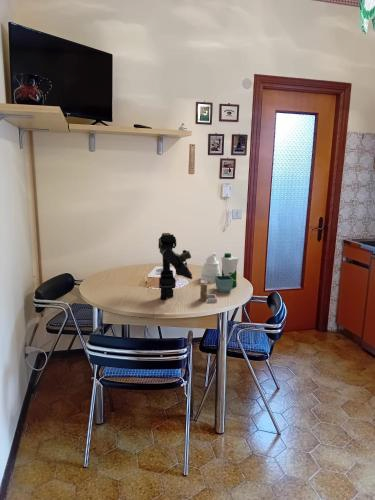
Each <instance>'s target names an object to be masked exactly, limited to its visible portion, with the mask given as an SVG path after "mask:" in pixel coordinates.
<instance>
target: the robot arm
mask: <svg viewBox="0 0 375 500" xmlns="http://www.w3.org/2000/svg"><path fill="white" fill-rule="evenodd" d="M157 244H158V247H157V248H158V249H159V253H160V254H161V257H162V270H161V271H160V277H159V278H158V288H159V289H160V299H159V300H161V301H163V300H164V301H167V299H171V298H174V289H175V288H176V282H177V280H176V278H175V277H174V273H173V270H171V266H173V268H174V270H175V274H176V275H177V276H181V277H184V278H186V279H190V280H192V279H193V273H192V272H191V270H190V269H189V267H188V263H187V260H189V259H191V258H192V255H191V253H190V251H189V250H187V249H183V250H182V253H181V254H178V253H176V252H175V251H174V250H173V249H175V248H176V247H177V238H176V236H174V234H173V233H172V234H171V233H169V232H162V233H161V236H160V237H159V238H158V243H157Z"/></svg>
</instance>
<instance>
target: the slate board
mask: <svg viewBox="0 0 375 500" xmlns="http://www.w3.org/2000/svg"><path fill="white" fill-rule="evenodd" d="M207 303H218V298H217V294H215V293H214V294H213V293H212V294H210V293H207Z"/></svg>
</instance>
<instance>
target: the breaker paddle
mask: <svg viewBox="0 0 375 500" xmlns="http://www.w3.org/2000/svg"><path fill="white" fill-rule="evenodd" d="M207 294H208V282H207V281H206V280H201V279H200V296H199V297H200V298H199V299H200V302H208V298H207Z"/></svg>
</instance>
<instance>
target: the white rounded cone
mask: <svg viewBox="0 0 375 500" xmlns="http://www.w3.org/2000/svg"><path fill="white" fill-rule="evenodd" d="M215 256H217V252H212V254H210V255H208V256H207V257H206V260H205V261H204V262H203V266H202V269H201V270H200V273H201V274H200V281H201V280H206V281H207V283H216V282H215V276H222V271H221V269H220V266H219V264H220V262H219V261H218V260H217V259H216V257H215Z"/></svg>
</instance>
